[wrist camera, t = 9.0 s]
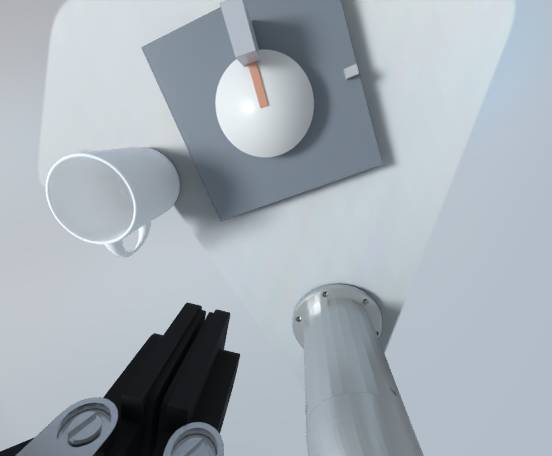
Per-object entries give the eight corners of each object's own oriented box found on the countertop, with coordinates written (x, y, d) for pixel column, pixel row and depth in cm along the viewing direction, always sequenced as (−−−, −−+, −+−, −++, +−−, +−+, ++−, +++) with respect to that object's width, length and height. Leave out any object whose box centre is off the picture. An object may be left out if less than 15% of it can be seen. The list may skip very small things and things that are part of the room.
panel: (377, 162, 33) (384, 165, 30) (224, 216, 36) (218, 223, 34) (326, -36, 27) (329, -54, 24) (150, 52, 31) (137, 45, 28)
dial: (322, 141, 30) (327, 144, 25) (236, 166, 32) (225, 173, 27) (291, 3, 26) (290, -26, 22) (195, 39, 28) (173, 20, 23)
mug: (123, 234, 39) (62, 271, 28) (112, 143, 34) (35, 149, 24) (185, 239, 38) (144, 279, 28) (180, 148, 34) (131, 157, 24)
